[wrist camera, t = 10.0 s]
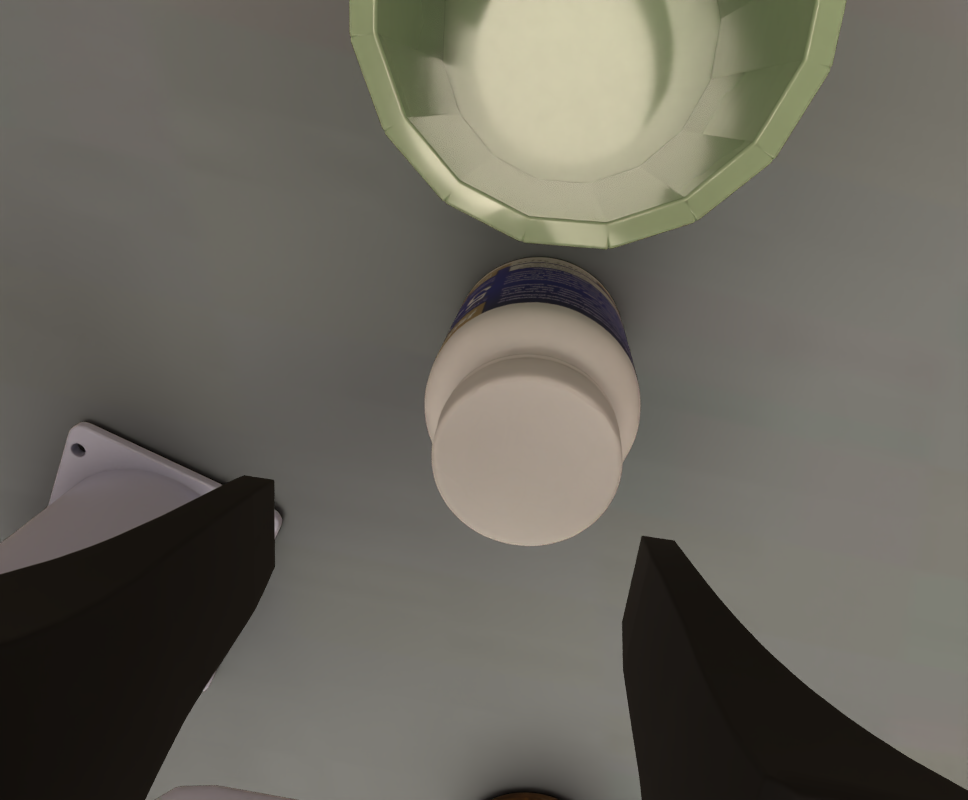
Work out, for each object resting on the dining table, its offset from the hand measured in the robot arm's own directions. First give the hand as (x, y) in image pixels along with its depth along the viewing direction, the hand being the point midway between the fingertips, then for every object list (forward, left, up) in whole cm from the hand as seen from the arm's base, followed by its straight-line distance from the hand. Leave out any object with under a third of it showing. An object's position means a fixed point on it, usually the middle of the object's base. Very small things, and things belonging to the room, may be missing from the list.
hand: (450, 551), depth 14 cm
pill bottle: (+2, -1, -11) cm, 11 cm away
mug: (+11, +2, -10) cm, 15 cm away
